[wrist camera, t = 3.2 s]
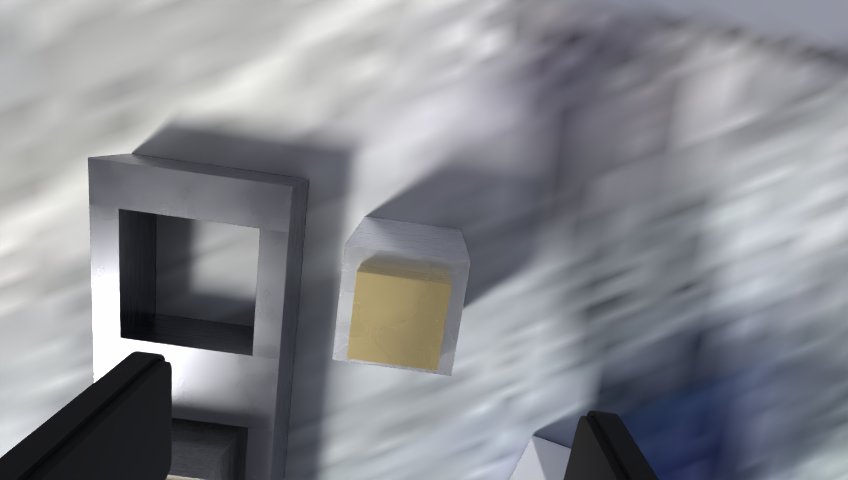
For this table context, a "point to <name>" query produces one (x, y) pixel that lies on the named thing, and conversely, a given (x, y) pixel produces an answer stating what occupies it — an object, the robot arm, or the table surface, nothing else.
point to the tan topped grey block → (207, 451)
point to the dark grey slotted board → (189, 338)
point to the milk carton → (542, 461)
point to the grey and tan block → (401, 296)
